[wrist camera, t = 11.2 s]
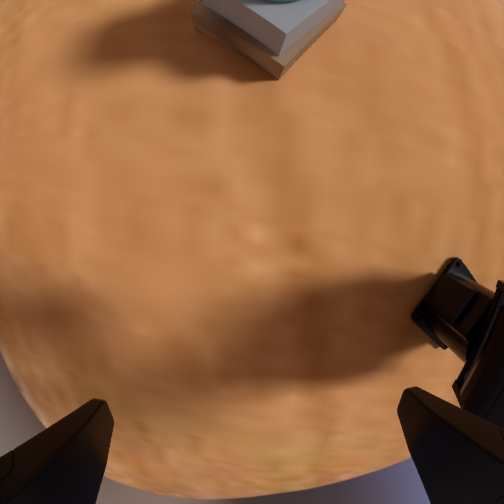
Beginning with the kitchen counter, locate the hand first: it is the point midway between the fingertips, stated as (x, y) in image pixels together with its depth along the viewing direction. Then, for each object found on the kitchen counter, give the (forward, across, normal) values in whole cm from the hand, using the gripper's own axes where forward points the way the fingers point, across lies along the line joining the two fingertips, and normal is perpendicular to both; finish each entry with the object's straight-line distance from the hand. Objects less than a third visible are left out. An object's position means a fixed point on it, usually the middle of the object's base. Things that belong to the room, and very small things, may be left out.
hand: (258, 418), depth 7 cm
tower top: (+10, -2, -18) cm, 21 cm away
